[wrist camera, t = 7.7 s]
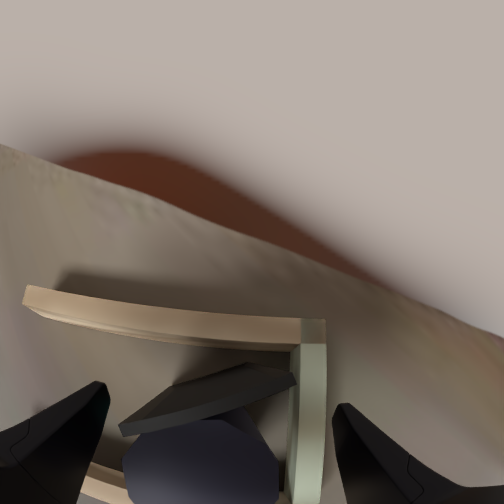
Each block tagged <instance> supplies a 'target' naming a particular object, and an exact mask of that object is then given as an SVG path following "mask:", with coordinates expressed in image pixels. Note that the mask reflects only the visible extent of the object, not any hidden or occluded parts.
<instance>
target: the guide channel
mask: <svg viewBox="0 0 504 504" xmlns="http://www.w3.org/2000/svg"><path fill="white" fill-rule="evenodd" d="M22 304H23V305H25V306H27V307H28V308H30V309H31V310H33V311H35V312H36V313H38V314H40V315H41V316H43V317H46V318H50V319H53V320H57V321H61V322H65V323H69V324H73V325H77V326H82V327H86V328H91V329H95V330H100V331H105V332H110V333H115V334H120V335H126V336H131V337H137V338H143V339H149V340H156V341H163V342H170V343H178V344H186V345H194V346H204V347H214V348H225V349H238V350H254V351H276V352H290V372H293V375H294V377H295V380H296V383H297V385H295V386H292V387H290V388H289V412H288V433H287V451H286V466H285V480H284V492H279V499H278V500H277V502H276V503H275V504H319V502H320V493H321V483H322V472H323V460H324V444H325V424H326V381H327V363H326V319H312V318H285V317H265V316H249V315H235V314H222V313H211V312H200V311H190V310H181V309H172V308H163V307H155V306H147V305H140V304H133V303H126V302H119V301H112V300H106V299H100V298H94V297H88V296H82V295H77V294H71V293H66V292H61V291H56V290H51V289H46V288H41V287H36V286H32V285H27V288H26V291H25V295H24V298H23V302H22ZM80 492H82V493H84V494H86V495H89V496H91V497H94V498H97V499H99V500H102V501H105V502H107V503H110V504H134V503H133V502H132V501H131V499H130V498H129V497H128V492H127V488H126V483H125V478H124V472H120V471H117V470H114V469H111V468H107V467H104V466H102V465H99V464H96V463H93V462H91V463H90V466H89V468H88V471H87V474H86V476H85V479H84V482H83V485H82V488H81V491H80Z"/></svg>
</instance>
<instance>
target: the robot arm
mask: <svg viewBox="0 0 504 504" xmlns="http://www.w3.org/2000/svg"><path fill="white" fill-rule="evenodd" d="M109 406H110V395H109V392H108V389H107V386H106V384H105V383H103V382H100V381H94V382H92V383H90V384H89V385H87V386H85V387H83V388H82V389H80V390H78V391H77V392H75V393H73V394H71V395H70V396H68V397H66V398H64V399H63V400H61V401H59V402H57V403H56V404H54V405H52V406H50V407H49V408H47V409H45V410H43V411H41V412H40V413H38V414H36V415H34V416H32V417H31V418H30V419H27V420H25V421H23V422H21V423H19V424H17V425H15V426H13V427H11V428H8V429H6V430H4V431H1V432H0V504H76V503H77V500H78V497H79V494H80V491H81V488H82V485H83V482H84V479H85V476H86V474H87V471H88V468H89V466H90V463H91V460H92V458H93V455H94V452H95V450H96V447H97V445H98V442H99V440H100V437H101V434H102V431H103V427H104V424H105V420H106V416H107V413H108V409H109ZM332 428H333V436H334V445H335V453H336V459H337V463H338V467H339V471H340V475H341V479H342V483H343V488H344V492H345V496H346V500H347V504H504V485H499V486H488V487H464V486H460V485H458V484H456V483H454V482H452V481H450V480H449V479H447V478H445V477H443V476H442V475H440V474H438V473H436V472H435V471H433V470H432V469H430V468H428V467H427V466H425V465H424V464H423V463H421V462H420V461H419V460H417V459H416V458H415V457H413V456H412V455H411V454H410V455H409V453H408V452H407V451H406V450H405V449H403V448H402V447H401V446H400V445H398V444H397V443H396V442H395V441H394V440H392V439H391V438H390V437H389V436H387V435H386V434H385V433H384V432H383V431H381V430H380V429H379V428H378V427H377V426H376V425H374V424H373V423H372V422H371V421H370V420H369V419H367V418H366V417H365V416H364V415H363V414H362V413H360V412H359V411H358V410H357V409H356V408H355V407H354V406H352V405H351V404H350V403H340V404H338V405H337V408H336V410H335V412H334V415H333V417H332Z"/></svg>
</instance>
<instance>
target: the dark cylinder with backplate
mask: <svg viewBox="0 0 504 504" xmlns="http://www.w3.org/2000/svg"><path fill="white" fill-rule="evenodd" d="M295 385H297V383H296V380H295V377H294V375H293V372H290V371H285V370H280V369H275V368H271V367H266V366H262V365H258V364H253V363H249V362H246V363H243V364H240V365H237V366H234V367H232V368H229V369H226V370H223V371H220V372H217V373H213V374H210V375H207V376H204V377H201V378H197V379H194V380H191V381H187V382H184V383H180V384H177V385H173V386H170V387H168V388H167V389H166V390H164V391H163V392H162V393H160V394H159V395H158V396H156V397H155V398H154V399H152V400H151V401H150V402H148V403H147V404H146V405H144V406H143V407H142V408H140V409H139V410H138V411H136V412H135V413H134V414H132V415H131V416H129V417H128V418H127V419H125V420H124V421H122V422H121V423H120V424H118V426H119V428H120V431H121V433H122V435H123V437H126V436H132V435H137V434H140V436H139V437H138V438H137V440H136V441H135V442H134V443H133V445H132V446H131V447H130V449H129V450H128V451H127V453H126V454H125V455H124V456H123V458H122V459H121V460H122V466H123V472H124V478H125V483H126V488H127V492H128V497H129V498H130V499H131V501H132V502H133V503H134V504H275V503H276V502H277V500H278V499H279V466H278V460H277V459H276V457H275V456H274V454H273V453H272V451H271V450H270V448H269V446H268V445H267V443H266V442H265V440H264V439H263V437H262V435H261V434H260V432H259V430H258V429H257V427H256V426H255V424H254V422H253V421H252V419H251V417H250V416H249V414H248V412H247V411H246V409H245V408H244V405H247V404H250V403H252V402H255V401H258V400H260V399H263V398H266V397H268V396H271V395H273V394H276V393H278V392H281V391H283V390H285V389H288V388H290V387H292V386H295Z"/></svg>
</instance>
